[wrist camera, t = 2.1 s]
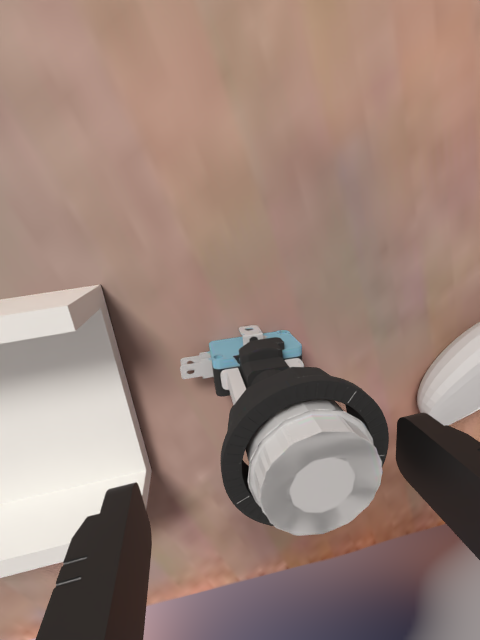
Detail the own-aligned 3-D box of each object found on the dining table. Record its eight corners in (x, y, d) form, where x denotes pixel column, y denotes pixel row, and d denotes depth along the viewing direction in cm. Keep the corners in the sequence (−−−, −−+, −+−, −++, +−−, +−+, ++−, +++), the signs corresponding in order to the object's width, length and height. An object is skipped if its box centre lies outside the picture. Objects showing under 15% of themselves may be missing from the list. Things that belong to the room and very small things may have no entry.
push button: (188, 400, 18) (190, 590, 8) (173, 315, 16) (156, 432, 7) (294, 381, 19) (404, 534, 9) (290, 299, 17) (419, 383, 8)
